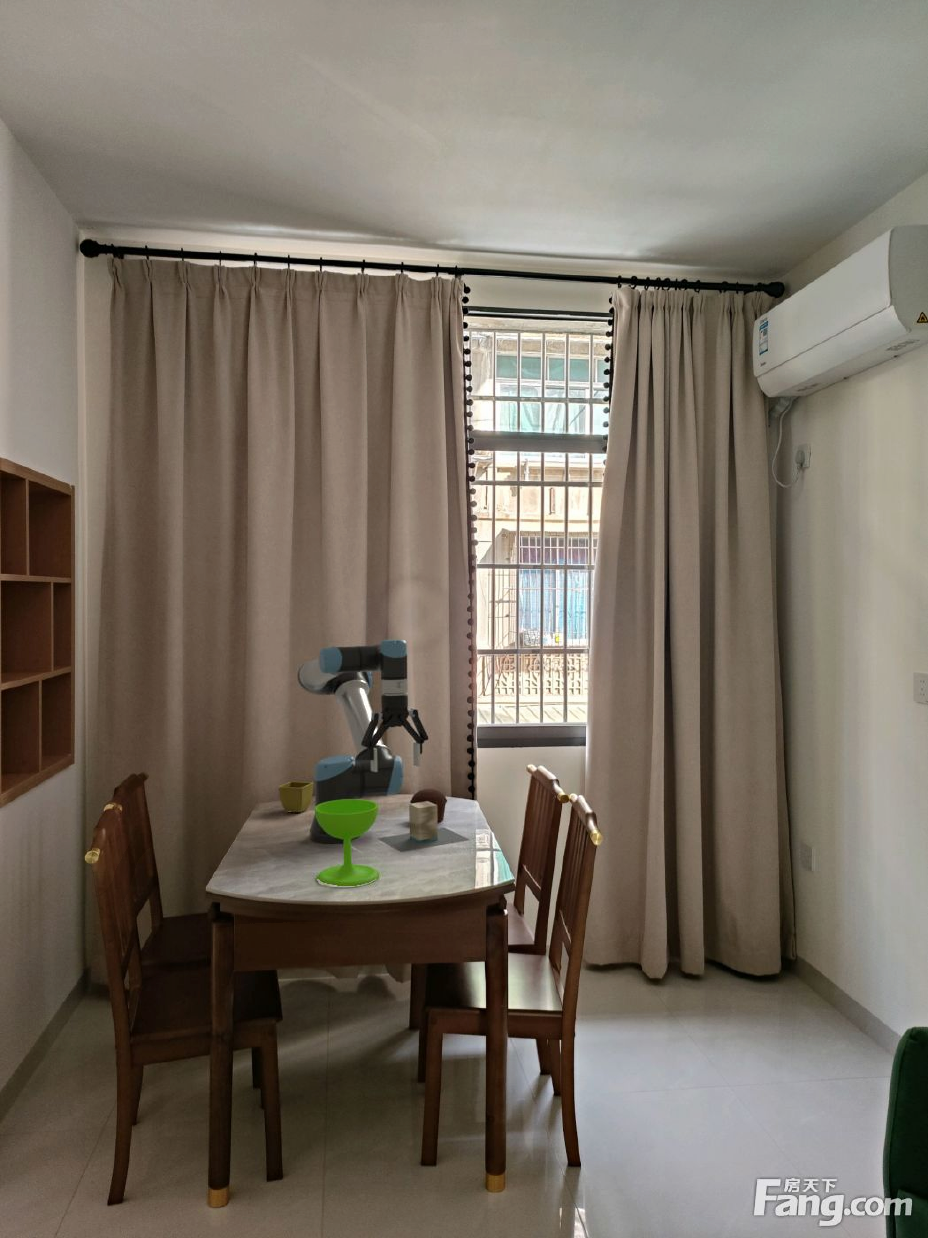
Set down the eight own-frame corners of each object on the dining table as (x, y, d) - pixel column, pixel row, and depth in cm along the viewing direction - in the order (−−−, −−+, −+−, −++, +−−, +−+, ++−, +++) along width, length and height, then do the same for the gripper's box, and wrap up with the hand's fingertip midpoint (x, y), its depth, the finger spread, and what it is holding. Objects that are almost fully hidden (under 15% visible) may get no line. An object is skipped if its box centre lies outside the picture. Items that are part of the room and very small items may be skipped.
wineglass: (303, 878, 217) (301, 807, 217) (354, 863, 228) (352, 796, 228) (341, 893, 206) (339, 818, 205) (392, 877, 217) (391, 806, 216)
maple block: (419, 843, 245) (418, 808, 244) (409, 838, 250) (409, 804, 250) (437, 840, 248) (437, 805, 247) (428, 835, 253) (427, 801, 253)
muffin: (405, 825, 266) (405, 793, 266) (416, 816, 277) (415, 785, 276) (442, 827, 263) (442, 795, 263) (451, 818, 274) (451, 787, 274)
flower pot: (278, 814, 283) (277, 786, 283) (291, 807, 291) (290, 781, 291) (302, 815, 280) (301, 788, 280) (314, 809, 289) (314, 782, 289)
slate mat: (401, 853, 236) (401, 852, 236) (377, 840, 250) (377, 838, 250) (470, 841, 247) (470, 839, 247) (444, 829, 261) (444, 827, 261)
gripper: (359, 698, 234) (361, 776, 235) (439, 692, 248) (440, 765, 248) (348, 696, 241) (350, 771, 241) (426, 689, 254) (427, 761, 254)
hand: (395, 768), depth 245 cm, fingers open, 13 cm apart
